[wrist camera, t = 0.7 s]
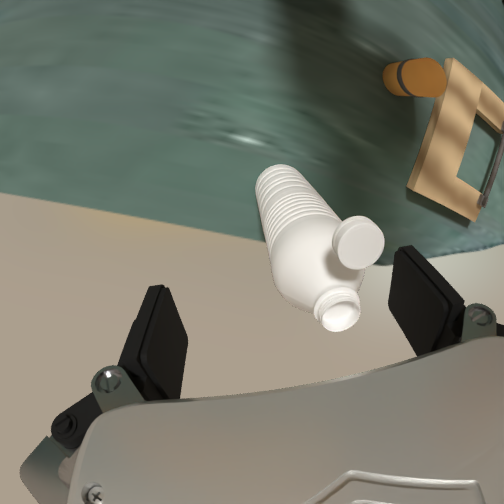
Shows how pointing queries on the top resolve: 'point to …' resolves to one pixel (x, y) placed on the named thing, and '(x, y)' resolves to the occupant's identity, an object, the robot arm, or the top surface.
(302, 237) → the water bottle
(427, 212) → the top surface
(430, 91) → the banded orange cylinder
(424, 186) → the oak frame
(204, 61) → the top surface
